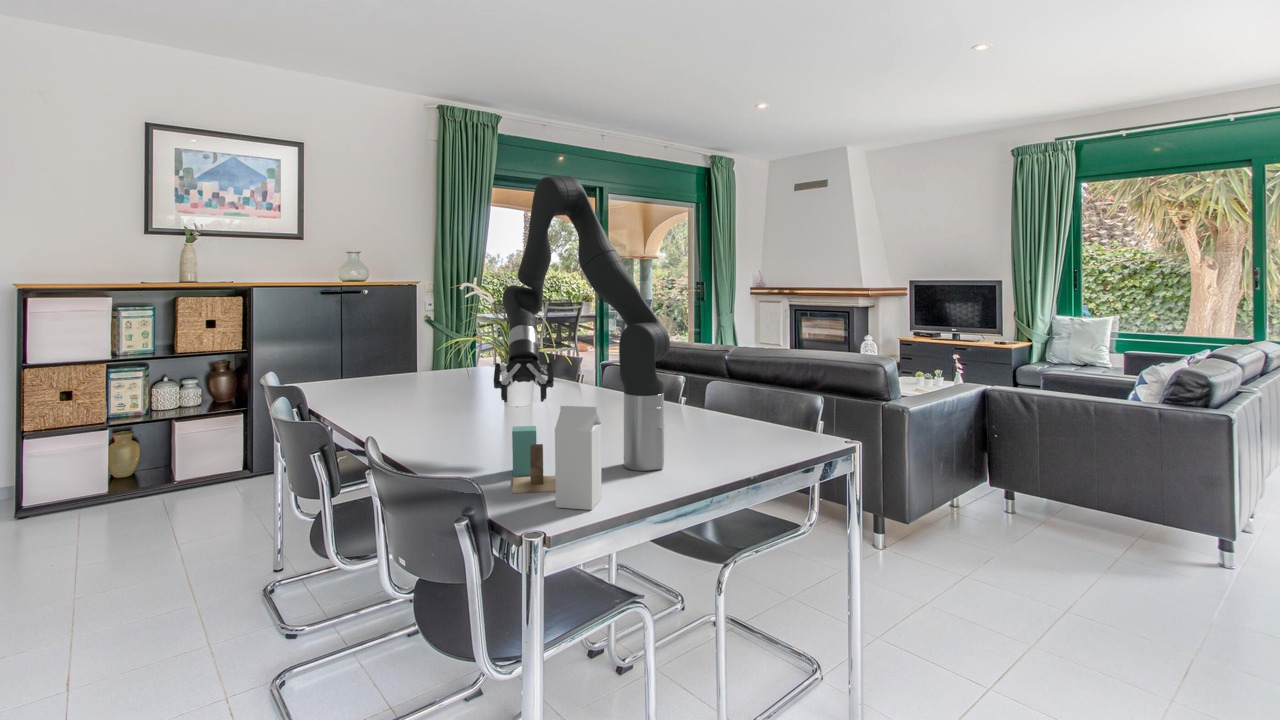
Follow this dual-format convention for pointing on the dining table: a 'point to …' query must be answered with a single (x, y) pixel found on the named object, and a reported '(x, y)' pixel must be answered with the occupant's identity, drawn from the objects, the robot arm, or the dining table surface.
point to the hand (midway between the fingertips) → (524, 400)
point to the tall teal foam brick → (522, 449)
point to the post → (534, 475)
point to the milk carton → (578, 457)
